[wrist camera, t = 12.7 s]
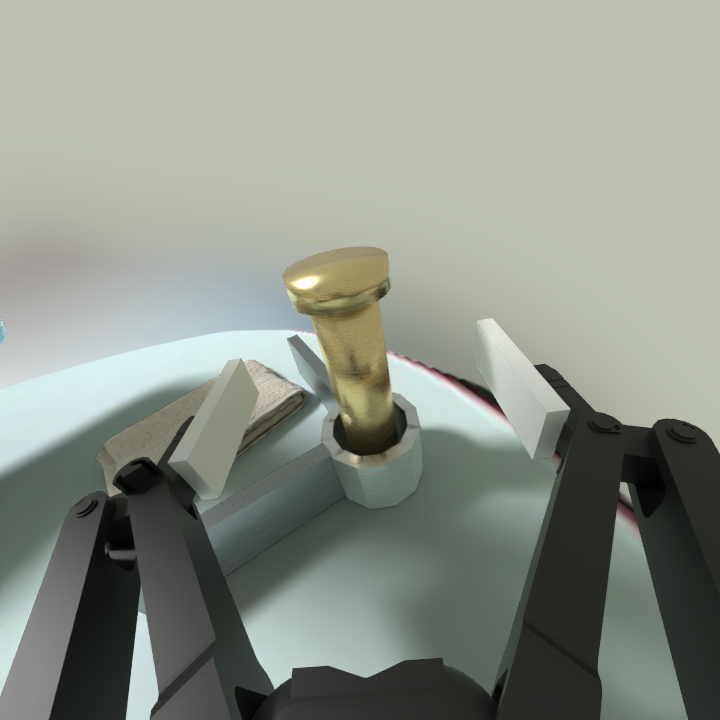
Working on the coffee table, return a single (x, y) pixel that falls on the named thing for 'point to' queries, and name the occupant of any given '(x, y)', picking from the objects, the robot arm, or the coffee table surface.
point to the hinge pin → (351, 337)
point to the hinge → (314, 478)
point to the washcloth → (162, 426)
